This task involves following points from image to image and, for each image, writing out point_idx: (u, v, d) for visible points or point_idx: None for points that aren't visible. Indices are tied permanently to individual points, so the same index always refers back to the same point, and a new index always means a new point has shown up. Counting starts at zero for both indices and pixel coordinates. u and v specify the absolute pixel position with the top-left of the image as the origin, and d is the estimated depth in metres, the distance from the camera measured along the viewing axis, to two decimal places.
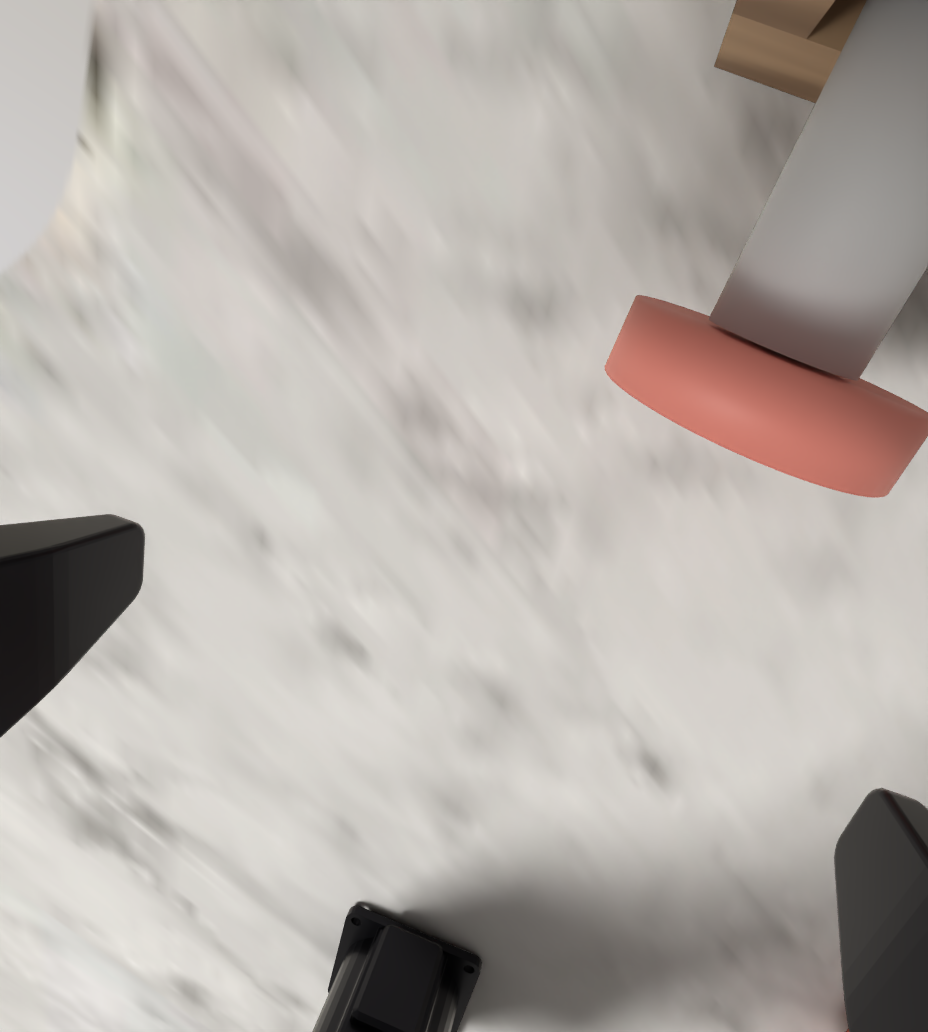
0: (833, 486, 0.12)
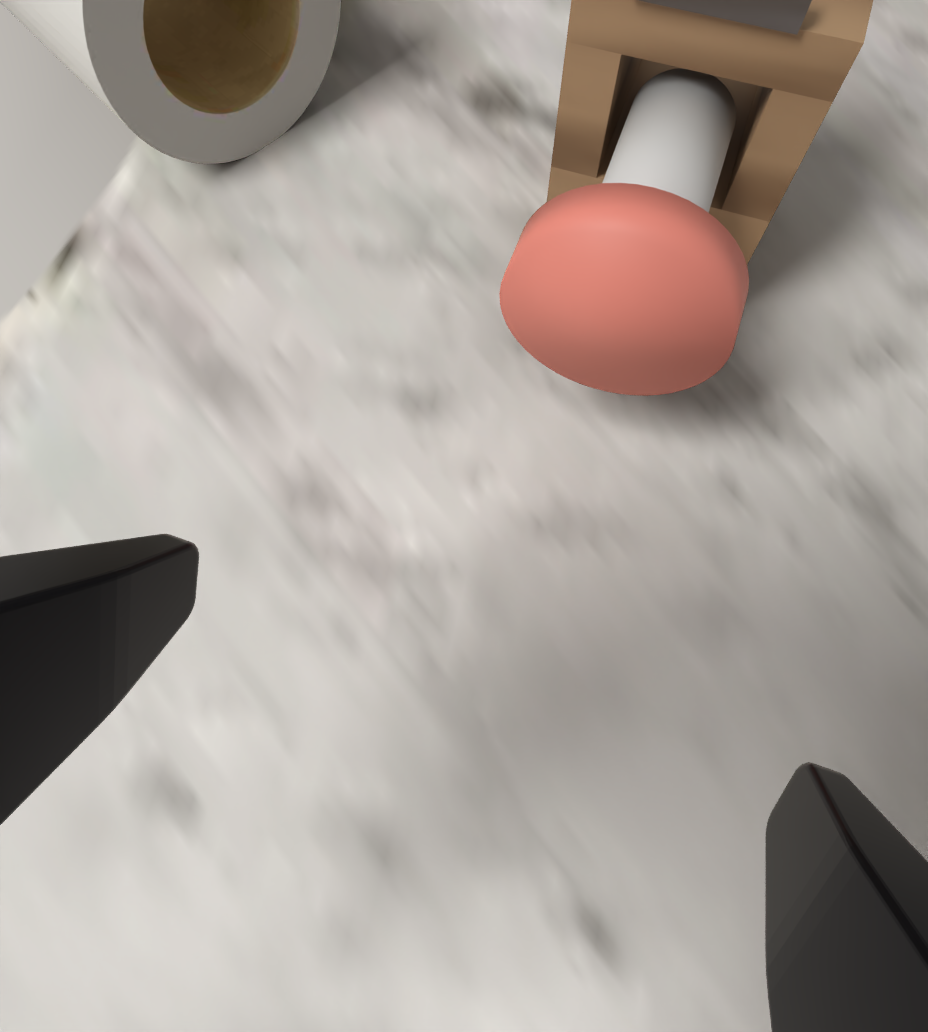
0: (694, 263, 0.15)
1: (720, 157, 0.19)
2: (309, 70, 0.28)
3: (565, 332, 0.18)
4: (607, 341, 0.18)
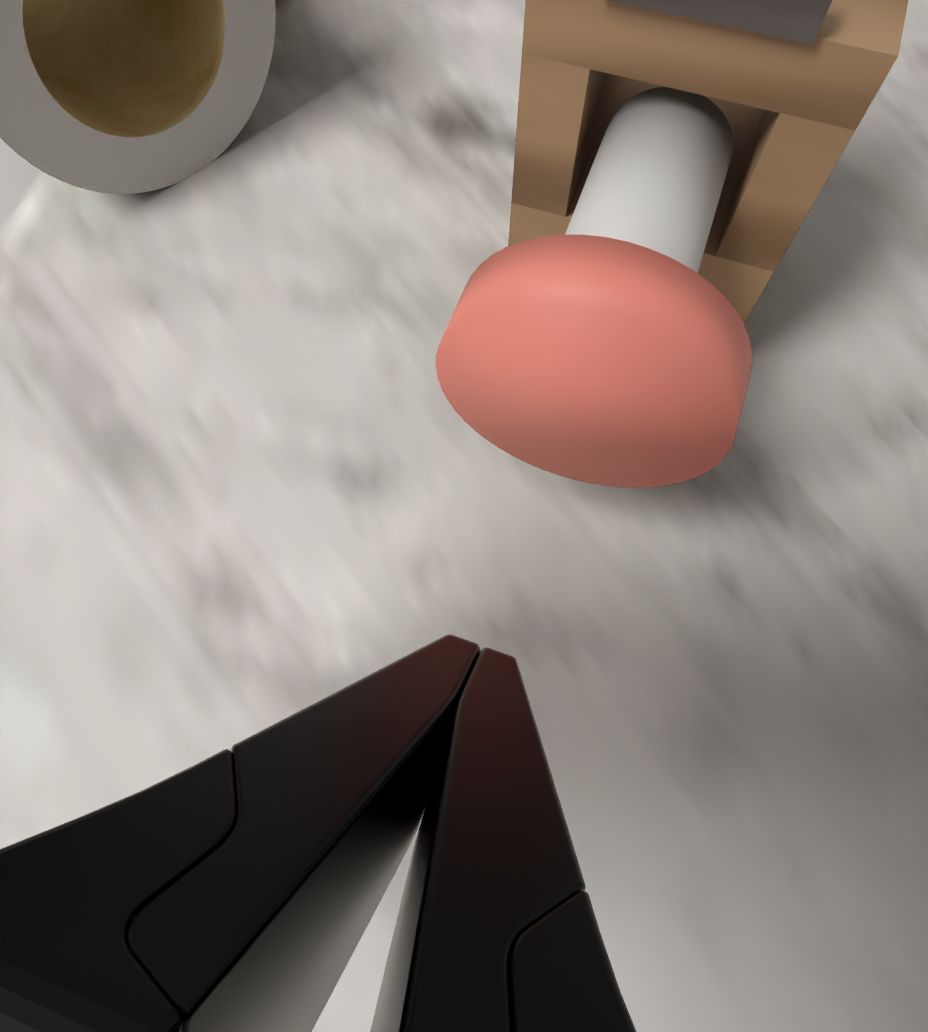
0: (681, 343, 0.11)
1: (714, 196, 0.15)
2: (241, 88, 0.24)
3: (520, 414, 0.15)
4: (572, 426, 0.14)
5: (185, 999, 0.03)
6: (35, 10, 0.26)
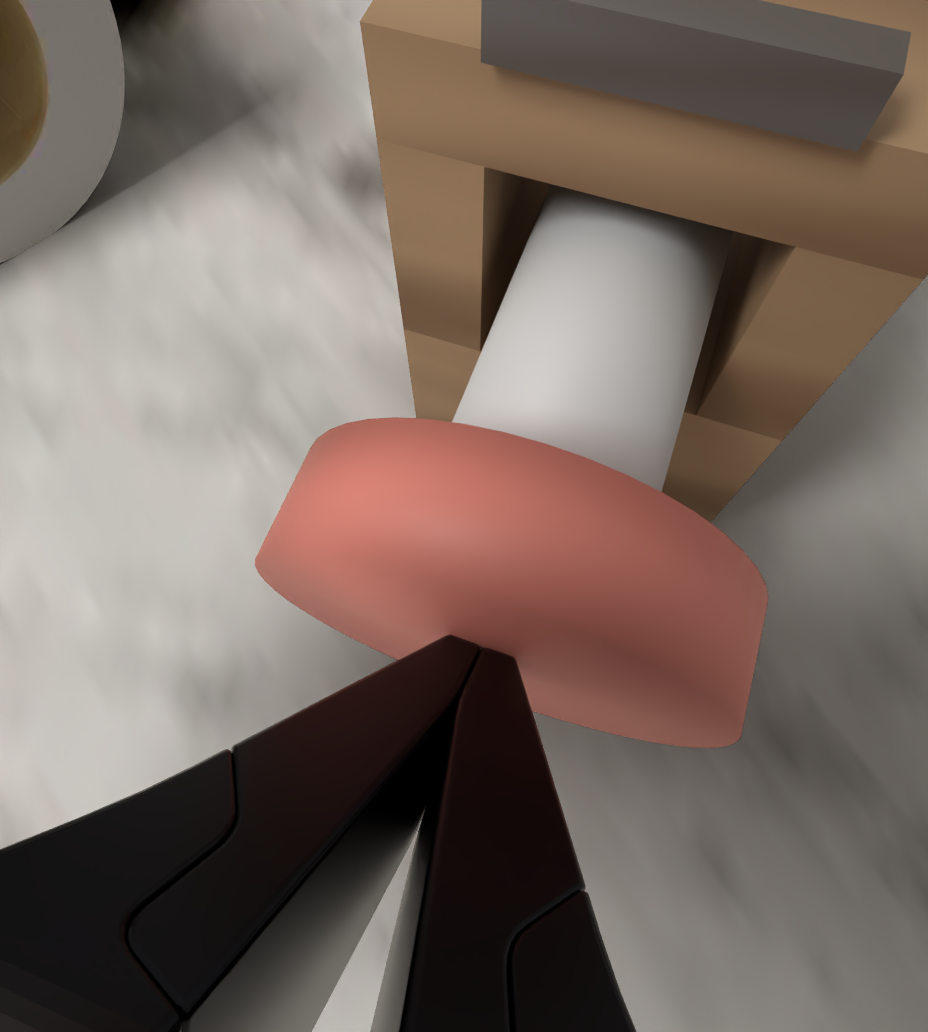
0: (637, 649, 0.06)
1: (707, 302, 0.10)
2: (85, 139, 0.19)
3: (405, 642, 0.09)
4: None
5: (185, 1000, 0.03)
6: None
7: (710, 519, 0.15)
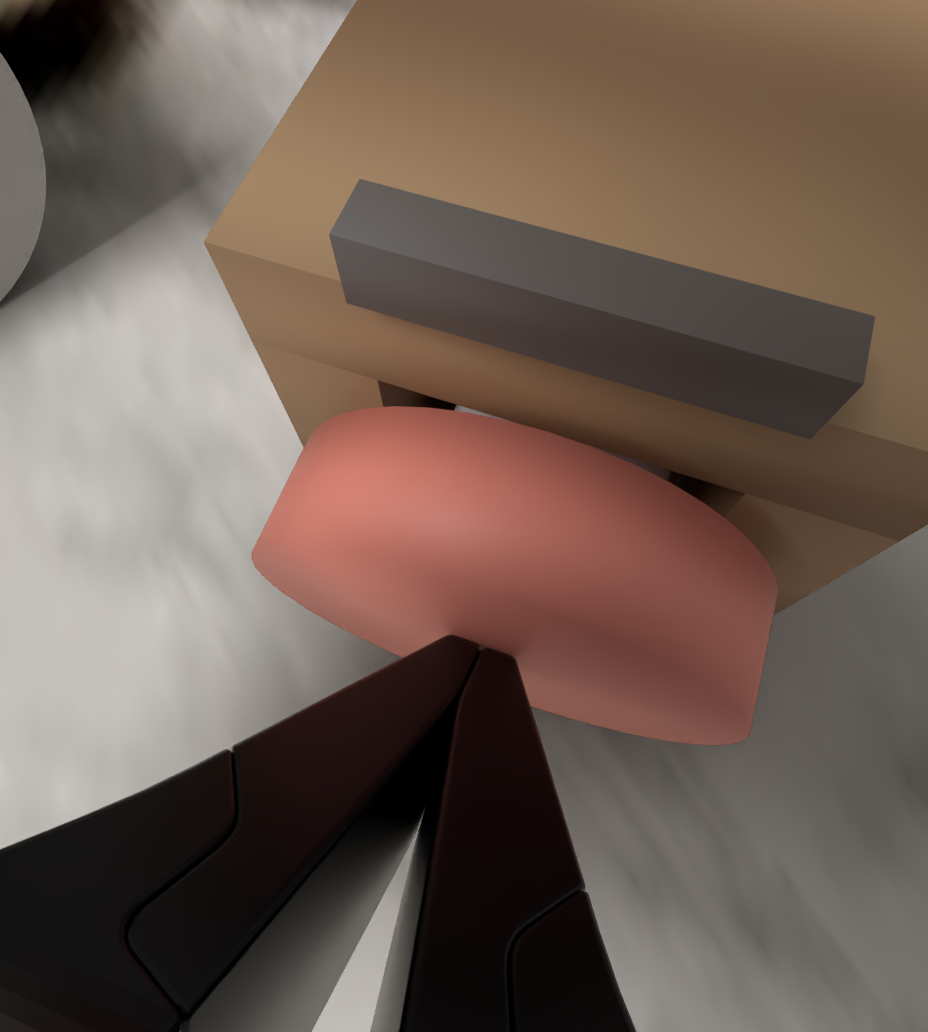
0: (644, 644, 0.06)
1: None
2: (4, 228, 0.17)
3: (405, 637, 0.09)
4: None
5: (184, 1000, 0.03)
6: None
7: None
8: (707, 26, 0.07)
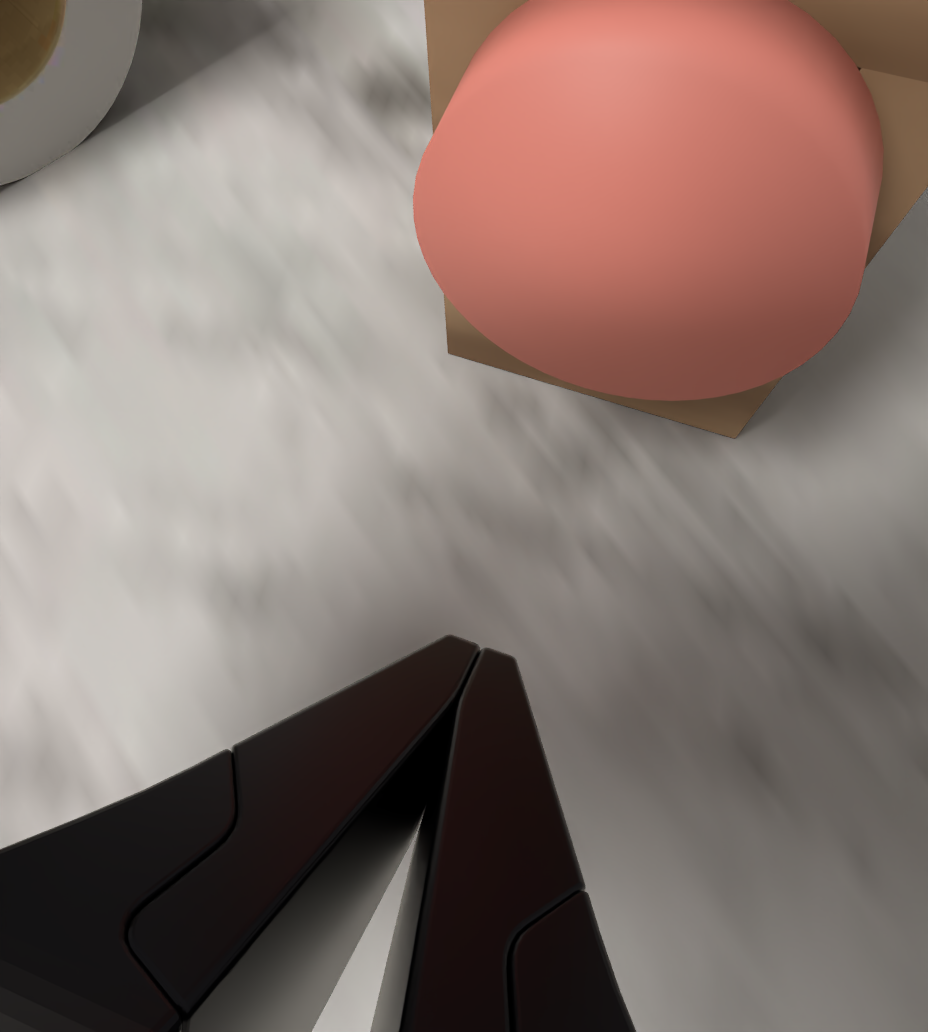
0: (797, 121, 0.07)
1: None
2: (103, 48, 0.18)
3: (533, 290, 0.10)
4: (608, 305, 0.10)
5: (185, 999, 0.03)
6: None
7: (745, 421, 0.15)
8: None
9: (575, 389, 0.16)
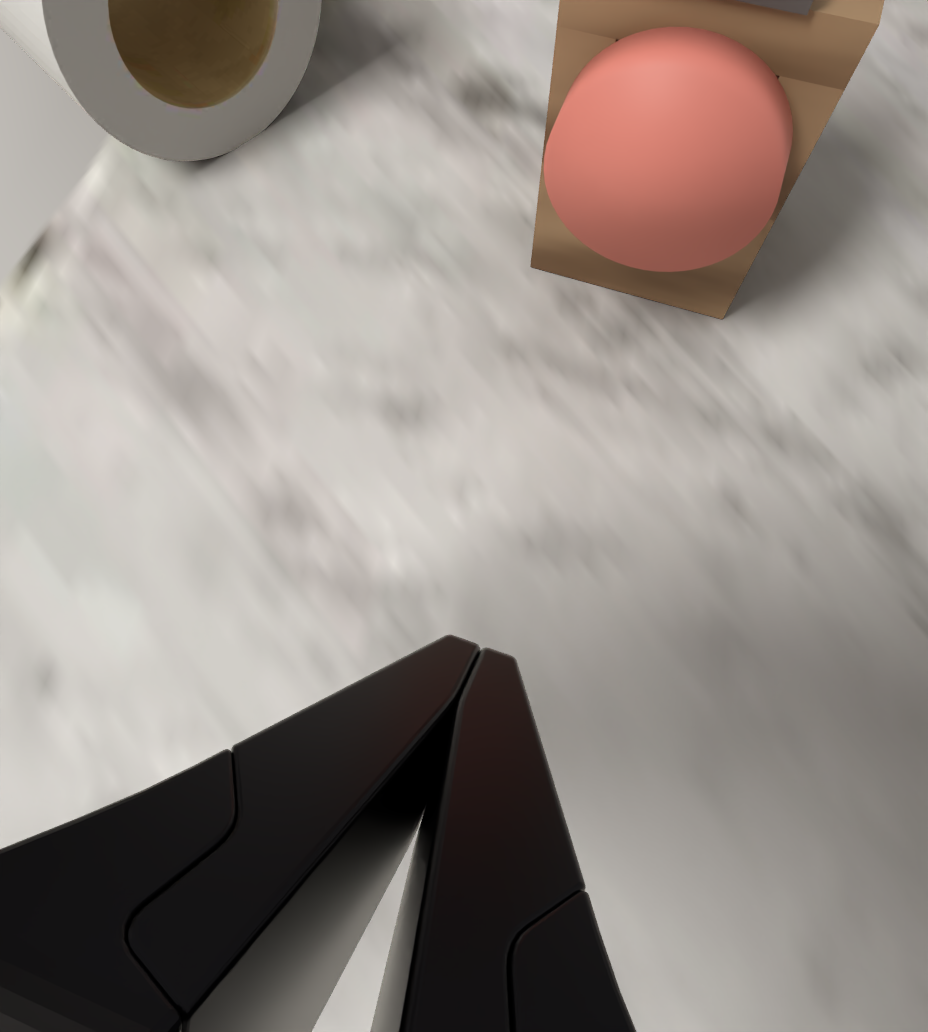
0: (744, 99, 0.15)
1: None
2: (289, 63, 0.26)
3: (607, 199, 0.19)
4: (649, 205, 0.18)
5: (185, 999, 0.03)
6: None
7: (729, 303, 0.23)
8: None
9: (616, 289, 0.25)
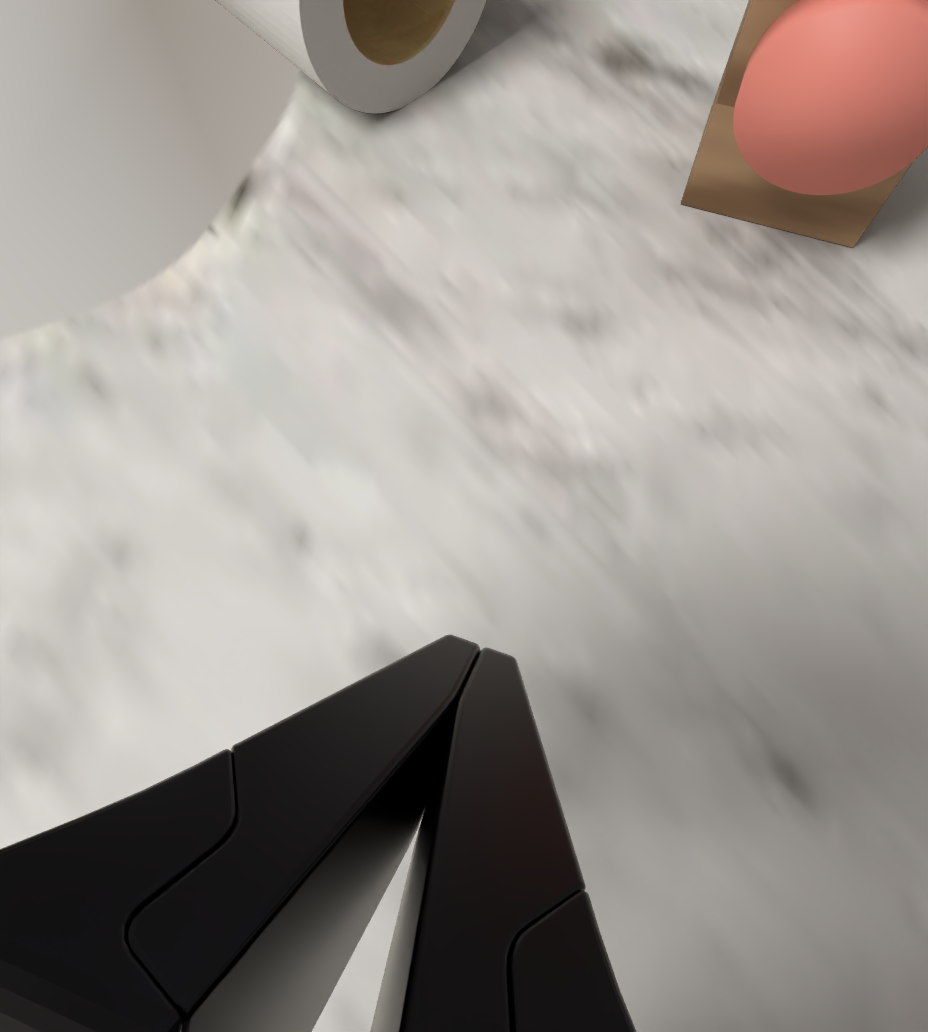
0: None
1: None
2: (461, 28, 0.30)
3: (787, 128, 0.22)
4: (825, 133, 0.22)
5: (184, 999, 0.03)
6: None
7: (862, 232, 0.27)
8: None
9: (758, 222, 0.28)
